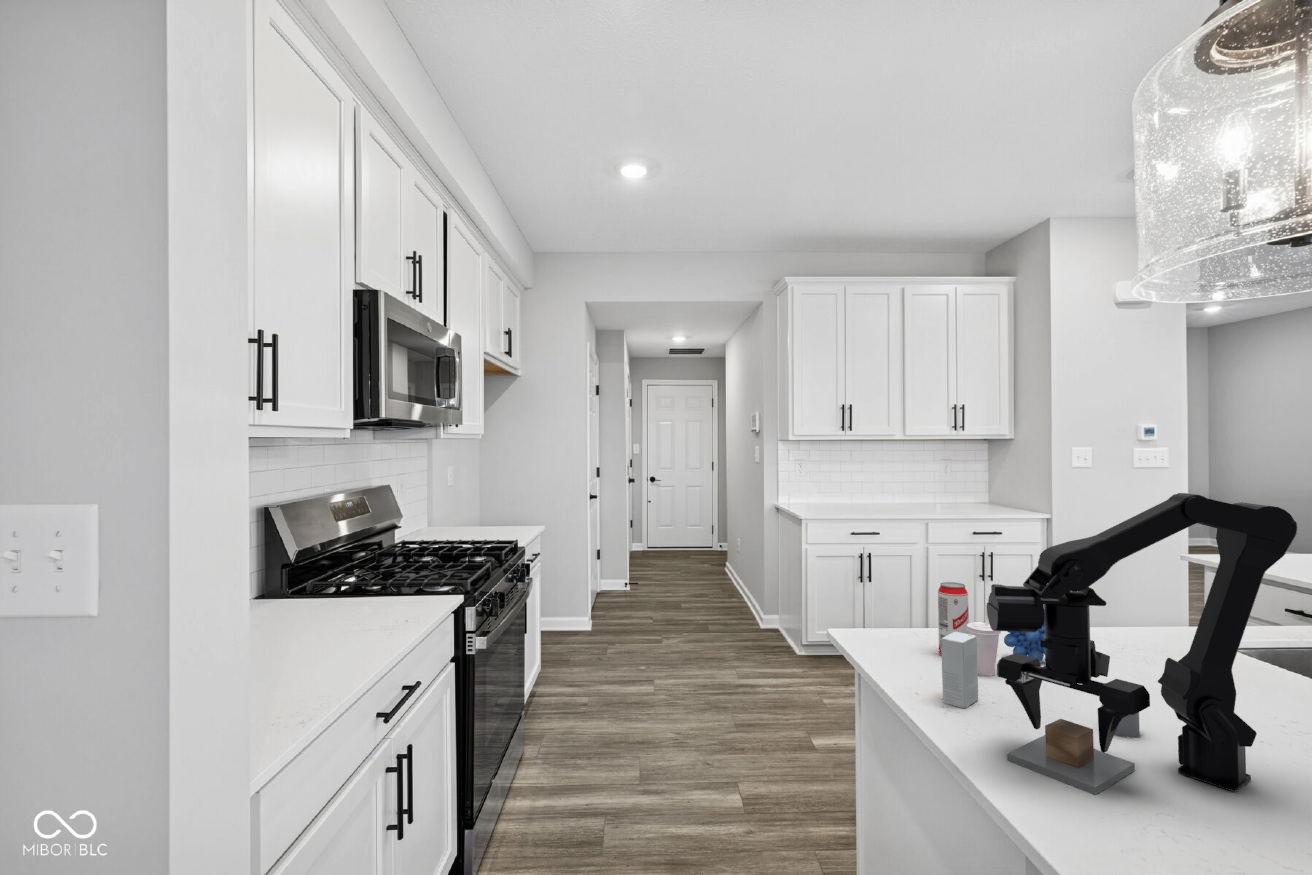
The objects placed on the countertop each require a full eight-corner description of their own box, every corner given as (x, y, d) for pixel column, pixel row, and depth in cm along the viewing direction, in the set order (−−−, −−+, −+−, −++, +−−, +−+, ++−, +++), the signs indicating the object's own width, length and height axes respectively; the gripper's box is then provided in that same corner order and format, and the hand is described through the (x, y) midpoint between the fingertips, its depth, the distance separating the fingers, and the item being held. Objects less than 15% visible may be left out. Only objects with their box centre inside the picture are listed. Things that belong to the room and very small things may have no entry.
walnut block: (1093, 759, 96) (1093, 729, 96) (1078, 768, 93) (1077, 736, 93) (1061, 748, 99) (1060, 718, 99) (1045, 755, 97) (1045, 725, 97)
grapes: (1068, 662, 141) (1067, 606, 141) (1064, 670, 136) (1062, 612, 136) (1008, 652, 149) (1007, 599, 149) (1001, 659, 143) (1000, 605, 143)
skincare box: (955, 693, 124) (954, 630, 124) (979, 700, 121) (977, 635, 121) (941, 702, 120) (940, 637, 120) (965, 709, 117) (963, 642, 117)
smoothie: (1006, 679, 131) (1004, 609, 132) (971, 677, 133) (970, 608, 133) (996, 668, 138) (994, 602, 138) (963, 666, 139) (962, 601, 139)
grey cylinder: (1145, 732, 107) (1144, 689, 107) (1131, 740, 104) (1130, 696, 104) (1110, 722, 111) (1109, 680, 111) (1096, 729, 108) (1095, 686, 108)
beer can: (932, 653, 148) (931, 583, 148) (952, 650, 151) (951, 580, 151) (955, 662, 142) (954, 588, 142) (975, 657, 145) (974, 585, 145)
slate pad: (1134, 769, 94) (1134, 762, 94) (1095, 794, 88) (1095, 787, 88) (1048, 739, 105) (1048, 733, 105) (1007, 759, 98) (1007, 752, 98)
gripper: (1165, 639, 93) (1168, 749, 93) (1031, 612, 109) (1033, 706, 109) (1130, 653, 87) (1133, 771, 87) (993, 622, 103) (995, 722, 102)
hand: (1069, 739), depth 96 cm, fingers open, 9 cm apart
